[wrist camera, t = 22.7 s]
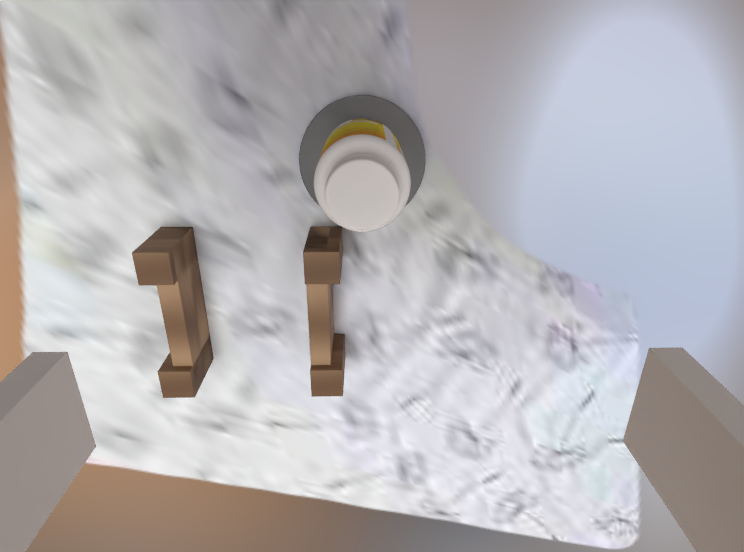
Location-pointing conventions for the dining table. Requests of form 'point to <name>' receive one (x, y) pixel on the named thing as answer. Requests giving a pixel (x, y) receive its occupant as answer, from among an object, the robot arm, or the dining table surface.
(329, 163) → the supplement bottle
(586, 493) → the dining table surface
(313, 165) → the slate coaster
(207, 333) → the walnut channel
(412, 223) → the dining table surface
